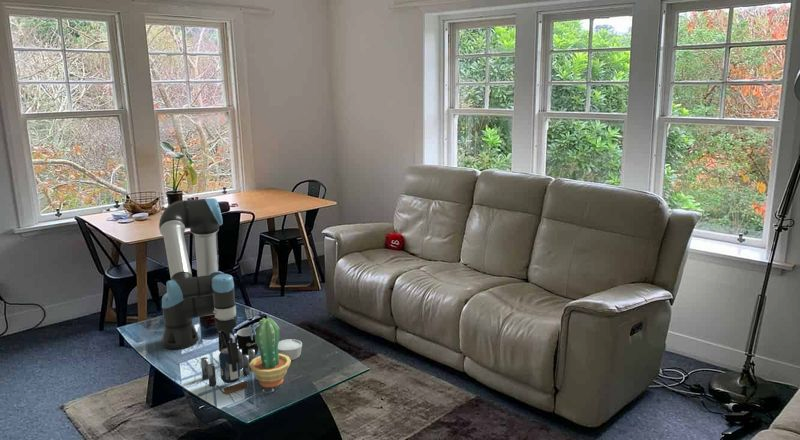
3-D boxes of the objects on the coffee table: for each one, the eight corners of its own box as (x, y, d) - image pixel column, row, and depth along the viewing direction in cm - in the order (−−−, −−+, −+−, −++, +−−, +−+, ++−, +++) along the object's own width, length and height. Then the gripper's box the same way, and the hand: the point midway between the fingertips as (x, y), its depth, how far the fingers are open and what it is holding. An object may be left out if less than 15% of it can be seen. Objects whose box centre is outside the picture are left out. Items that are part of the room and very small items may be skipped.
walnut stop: (224, 393, 223) (223, 387, 223) (246, 386, 228) (245, 381, 227) (225, 395, 222) (225, 389, 222) (247, 388, 227) (247, 382, 226)
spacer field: (198, 374, 239) (196, 355, 237) (247, 360, 250) (246, 342, 248) (210, 387, 228) (208, 367, 226) (260, 372, 240) (259, 353, 238)
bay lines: (216, 386, 229) (216, 385, 229) (239, 379, 234) (239, 378, 234) (223, 394, 223) (223, 393, 223) (247, 386, 228) (247, 386, 228)
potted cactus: (265, 369, 242) (261, 309, 236) (299, 375, 236) (296, 314, 231) (242, 387, 228) (237, 324, 222) (277, 394, 222) (273, 330, 217)
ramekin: (308, 354, 255) (307, 342, 253) (289, 364, 246) (288, 352, 244) (288, 348, 261) (288, 336, 260) (269, 358, 252) (268, 346, 251)
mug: (245, 361, 249) (243, 337, 247) (234, 354, 256) (232, 331, 253) (270, 352, 257) (269, 329, 255) (259, 345, 264) (258, 323, 261)
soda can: (235, 373, 233) (233, 344, 230) (243, 380, 227) (241, 350, 225) (218, 379, 228) (215, 349, 226) (226, 386, 223) (223, 355, 221)
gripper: (206, 311, 228) (211, 368, 233) (225, 327, 212) (230, 388, 218) (225, 306, 232) (230, 362, 237) (245, 322, 217) (250, 381, 222)
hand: (230, 374), depth 227 cm, fingers closed on soda can, 7 cm apart
